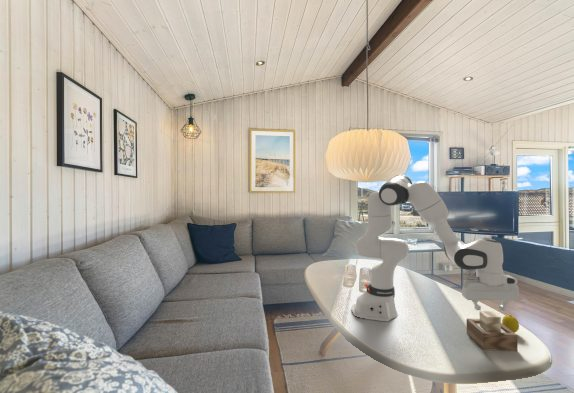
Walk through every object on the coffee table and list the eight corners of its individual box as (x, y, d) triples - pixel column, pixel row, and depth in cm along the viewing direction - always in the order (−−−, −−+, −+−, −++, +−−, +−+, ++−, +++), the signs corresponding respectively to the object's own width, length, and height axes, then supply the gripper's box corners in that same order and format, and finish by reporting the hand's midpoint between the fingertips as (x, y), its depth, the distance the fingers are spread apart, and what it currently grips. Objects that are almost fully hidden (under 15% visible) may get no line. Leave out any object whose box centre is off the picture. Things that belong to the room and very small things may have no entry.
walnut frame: (483, 349, 101) (483, 333, 101) (466, 332, 113) (466, 318, 113) (517, 350, 100) (517, 335, 100) (496, 333, 112) (496, 319, 112)
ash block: (487, 331, 104) (487, 316, 104) (479, 325, 109) (479, 311, 109) (500, 332, 104) (500, 317, 104) (492, 325, 109) (492, 311, 109)
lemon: (501, 333, 112) (501, 315, 112) (503, 328, 116) (502, 310, 116) (518, 338, 108) (518, 319, 108) (519, 332, 112) (519, 314, 112)
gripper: (467, 279, 105) (467, 313, 106) (522, 279, 103) (522, 313, 104) (458, 274, 111) (459, 306, 112) (509, 274, 109) (510, 306, 110)
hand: (489, 309), depth 108 cm, fingers open, 8 cm apart
